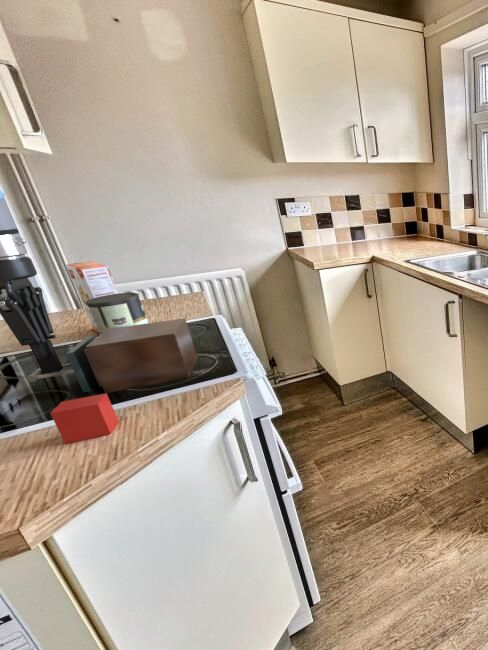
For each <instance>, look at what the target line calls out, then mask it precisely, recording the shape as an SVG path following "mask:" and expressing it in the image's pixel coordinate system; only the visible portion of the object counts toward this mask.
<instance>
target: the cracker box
mask: <svg viewBox="0 0 488 650" xmlns="http://www.w3.org/2000/svg"><path fill="white" fill-rule="evenodd" d="M65 267H66V268H67V271H68V273H69V275H70V279H71V280H72V282H73V284H74V287H75V290H76V291H77V294H78V297H79V298H80V301H81V303H82V306H83V307H84V310H85V312H86V315H87V318H88V320H89V322H90V324H91V326H92V328H93V329H92V330H94V331H95V332H97V333H98V336H99V335H100V334H99V331H98V329H97V326H96V324H95V322H94V319H93V317H92V315H91V312H90V310H89V307H88V305H87V304H86V301H88V300H90V299H93V298H97V297H101V296H106V295H112V294H119V292H118V289H117V287H116V284H115V282H114V278H113V276H112V273H111V271H110V269H109V266H108V265H105V264H102V263H99V262H95V261H91V260H90V261H89V260H88V261H82V262H81V261H80V262H73V263H68V264H65Z"/></svg>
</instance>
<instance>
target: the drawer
mask: <svg viewBox="0 0 488 650" xmlns="http://www.w3.org/2000/svg"><path fill="white" fill-rule="evenodd" d="M94 339H96V336H95V335H88V336H86V337H85V338H83V339H82V340H81V341H79V342H78V343H76V345H74V346H73V347H72V348H71V349H70V350H68V351H67V352H66V353H65V355H66V358H67V359H68V362H69V363H65V364H64V363H63V364H62V367H63V369H65V368H71V369H69V370H64V371H62V370H61V371H56V372H50V373H44V374H43V373H42V371H41V369H40V367H39V368H37V369H36V370H35V371H34V372H32V373H31V374H30V375H27V377H26V380H27V382H29V383H35V382H37V381H38V380H40V379H41V380H42V379H47V378H51V377H53V378H54V377H59V376H64V375H70V374H74V375H75V377H76V379H77V382H78V385H79V386H80V388H81V391H82V393H88V392H91V391H92V390H93V389H94V388H95V387H96V386H97V385H98V387H99V388H103V387H102V384H101V382H100V380H99V377H98V375H97V373H96V370H95V368H94V366H93V363H92V361H91V359H90V356H89V354H88V352H87V349H86V346H87V345H88V344H90V343H91V342H92V341H93V340H94Z"/></svg>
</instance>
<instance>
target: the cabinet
mask: <svg viewBox="0 0 488 650" xmlns="http://www.w3.org/2000/svg"><path fill="white" fill-rule="evenodd" d="M86 349H87V352H88V354H89V356H90V359H91V361H92V363H93V366H94V368H95V370H96V373H97V375H98V377H99V380H100V382H101V384H102V387H101V388H102V389H103V391H104V394H105V393H107V394H110V393H116V392H121V391H126V390H130V389H131V390H132V389H136V388H143V387H146V386H152V385H158V384H163V383H169V382H174V381H179V380H184V379H189V378H190V377H191V375H192V373H193V371H194V368H195V367H196V365H197V362H198V360H199V357H198V353H197V351H196V347H195V344H194V341H193V339H192V334H191V332H190V328H189V325H188V323H187V319H186V318H176V319H170V320H162V321H155V322H148V323H147V324H140V325H133V326H126V327H118V328H111V329H106V330H105V331H104V332H103V333H102V334H100V335H99V334H98V336H97V337H95V339H94V340H93V341H92V342H91V343H90V344H88V345H87V346H86Z"/></svg>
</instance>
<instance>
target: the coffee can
mask: <svg viewBox="0 0 488 650" xmlns="http://www.w3.org/2000/svg"><path fill="white" fill-rule="evenodd" d="M86 304H87V305H88V307H89V310H90V312H91V315H92V317H93V319H94V322H95V324H96V326H97V329H98V331H99V332H98V335H99V334H102V333H103V332H104V331H105V330H106V329H111V328H118V327H126V326H133V325H140V324H147V323H149V321H148V318H147V315H146V312H145V309H144V307H143V303H142V301H141V299H140V294H139V293H138V292H121V293H120V292H118V294H112V295H106V296H101V297H97V298H93V299H90V300H88V301H86Z"/></svg>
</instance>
